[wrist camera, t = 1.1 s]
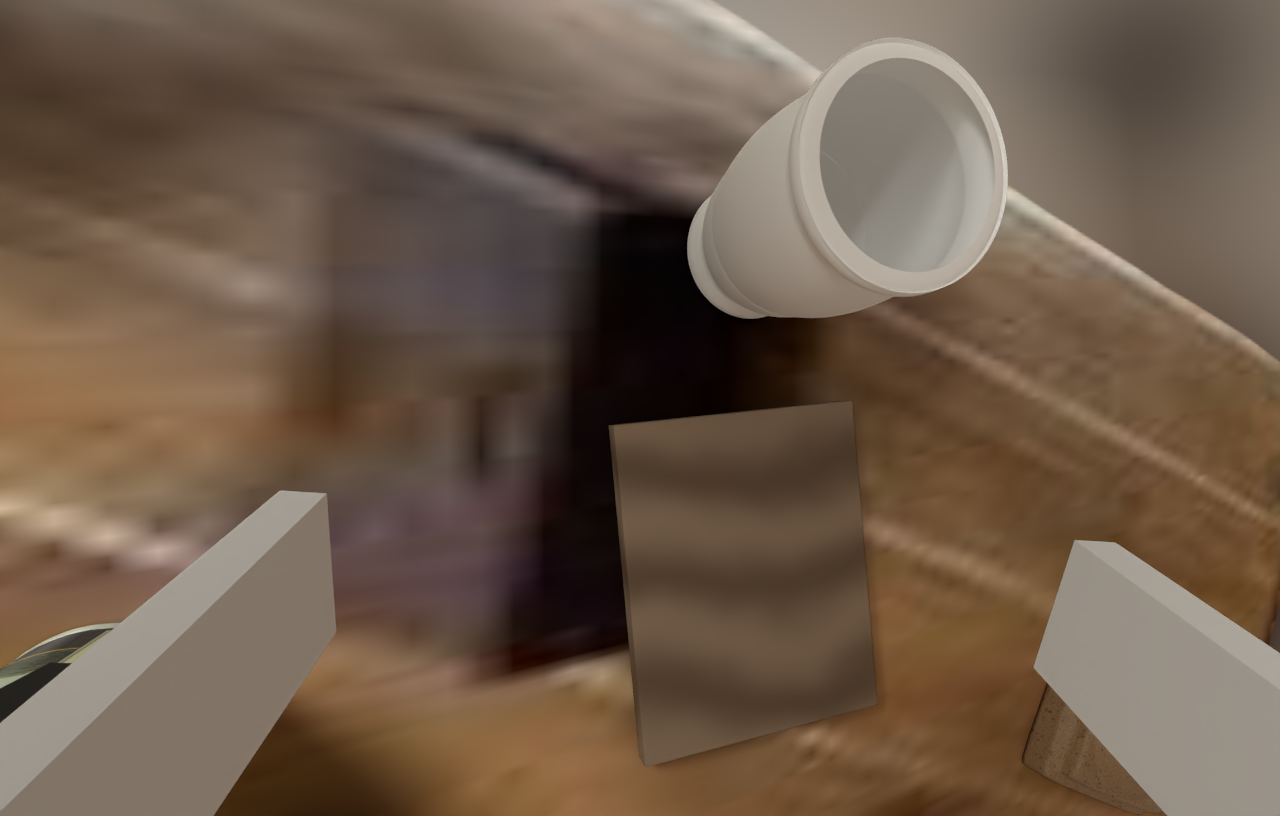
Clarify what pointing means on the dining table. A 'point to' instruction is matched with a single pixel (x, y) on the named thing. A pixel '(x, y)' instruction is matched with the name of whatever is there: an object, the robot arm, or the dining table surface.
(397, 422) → the dining table surface
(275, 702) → the robot arm
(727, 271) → the jar
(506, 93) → the dining table surface
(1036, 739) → the candle holder
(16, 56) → the dining table surface
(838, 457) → the walnut board
